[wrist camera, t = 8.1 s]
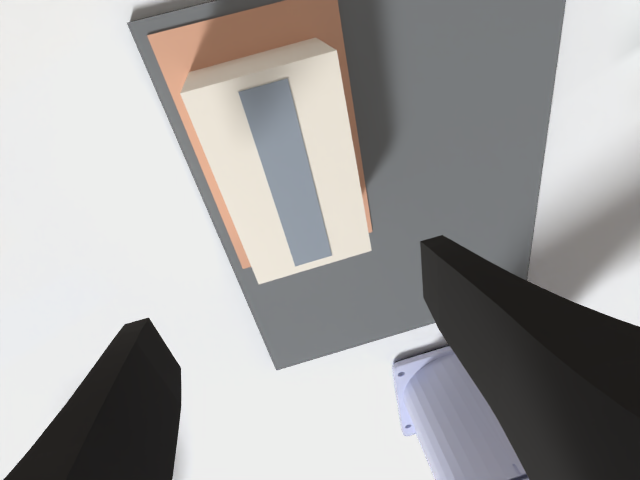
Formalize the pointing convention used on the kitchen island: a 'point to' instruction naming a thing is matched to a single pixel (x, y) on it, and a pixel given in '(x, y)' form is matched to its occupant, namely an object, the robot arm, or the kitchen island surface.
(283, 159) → the card deck
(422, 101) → the mat
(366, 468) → the kitchen island surface
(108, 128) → the kitchen island surface
